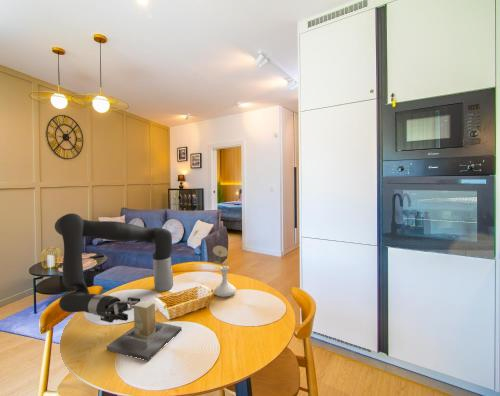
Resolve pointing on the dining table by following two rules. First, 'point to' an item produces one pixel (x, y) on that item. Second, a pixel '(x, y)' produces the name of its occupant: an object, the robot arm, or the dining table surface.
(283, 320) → the dining table surface
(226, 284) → the flower in vase
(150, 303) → the skincare box
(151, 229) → the robot arm
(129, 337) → the holder board
